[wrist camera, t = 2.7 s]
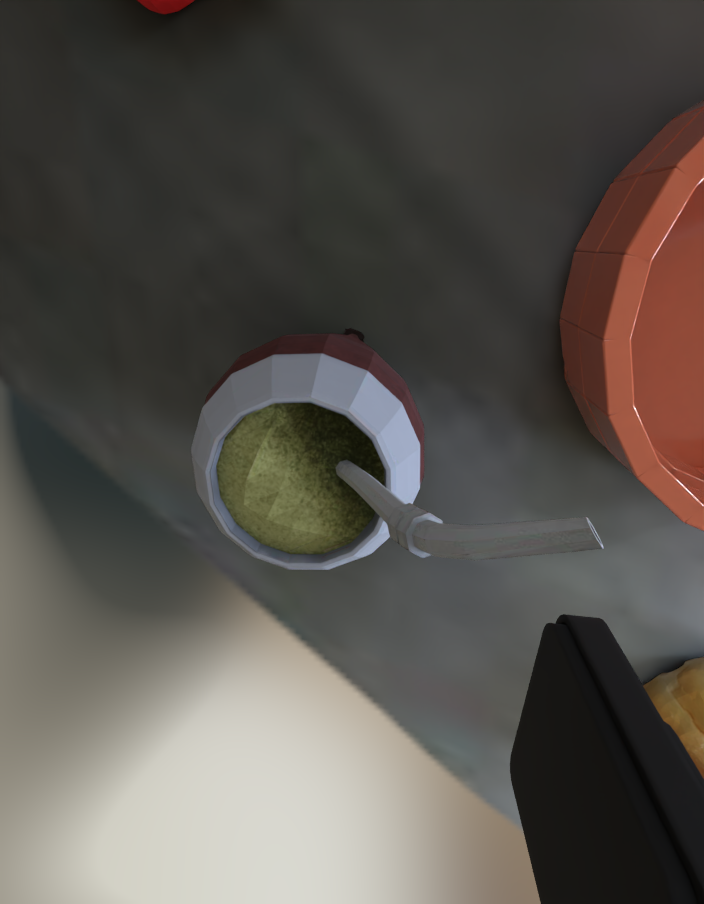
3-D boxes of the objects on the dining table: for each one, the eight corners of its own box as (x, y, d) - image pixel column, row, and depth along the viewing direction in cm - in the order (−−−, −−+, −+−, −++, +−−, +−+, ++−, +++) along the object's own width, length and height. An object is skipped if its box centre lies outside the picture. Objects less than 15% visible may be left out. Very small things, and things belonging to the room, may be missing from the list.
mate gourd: (221, 449, 23) (-30, 769, 9) (278, 262, 20) (41, 318, 6) (388, 510, 24) (387, 899, 10) (466, 336, 21) (620, 533, 7)
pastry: (627, 802, 29) (659, 881, 25) (548, 725, 28) (571, 797, 24) (801, 714, 26) (864, 789, 23) (723, 623, 25) (779, 688, 21)
